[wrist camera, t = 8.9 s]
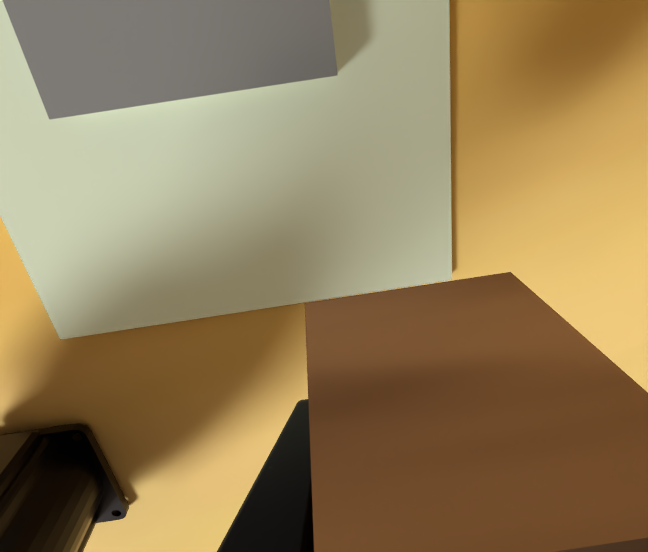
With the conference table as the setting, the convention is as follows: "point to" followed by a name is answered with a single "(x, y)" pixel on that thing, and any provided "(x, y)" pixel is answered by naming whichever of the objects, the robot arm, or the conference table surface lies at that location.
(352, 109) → the mat
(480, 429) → the block
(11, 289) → the conference table surface
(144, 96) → the tile
